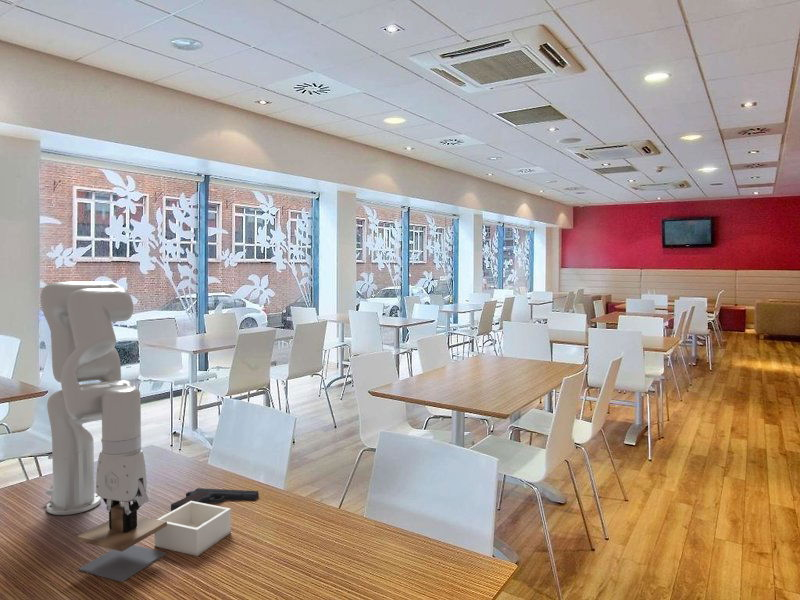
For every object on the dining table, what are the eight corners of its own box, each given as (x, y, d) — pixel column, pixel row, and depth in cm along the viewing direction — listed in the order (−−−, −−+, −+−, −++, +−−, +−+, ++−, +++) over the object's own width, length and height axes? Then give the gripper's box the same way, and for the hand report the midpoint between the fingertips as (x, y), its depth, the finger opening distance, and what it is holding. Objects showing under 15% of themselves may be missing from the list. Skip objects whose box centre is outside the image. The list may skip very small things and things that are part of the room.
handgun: (245, 508, 147) (259, 489, 159) (169, 505, 148) (188, 486, 160) (245, 517, 147) (259, 497, 159) (169, 513, 148) (188, 494, 160)
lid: (76, 540, 119) (76, 512, 118) (124, 517, 130) (123, 491, 130) (121, 551, 114) (121, 522, 114) (166, 525, 126) (166, 499, 126)
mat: (78, 570, 119) (78, 568, 119) (124, 544, 130) (124, 542, 130) (122, 582, 115) (122, 580, 115) (165, 554, 126) (165, 552, 126)
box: (154, 546, 130) (154, 520, 130) (191, 524, 141) (190, 500, 141) (197, 556, 126) (196, 529, 125) (230, 532, 137) (230, 508, 137)
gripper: (78, 445, 121) (79, 529, 122) (137, 454, 115) (139, 542, 116) (107, 435, 128) (108, 515, 129) (165, 444, 122) (166, 527, 123)
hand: (123, 527), depth 122 cm, fingers closed on lid, 3 cm apart
